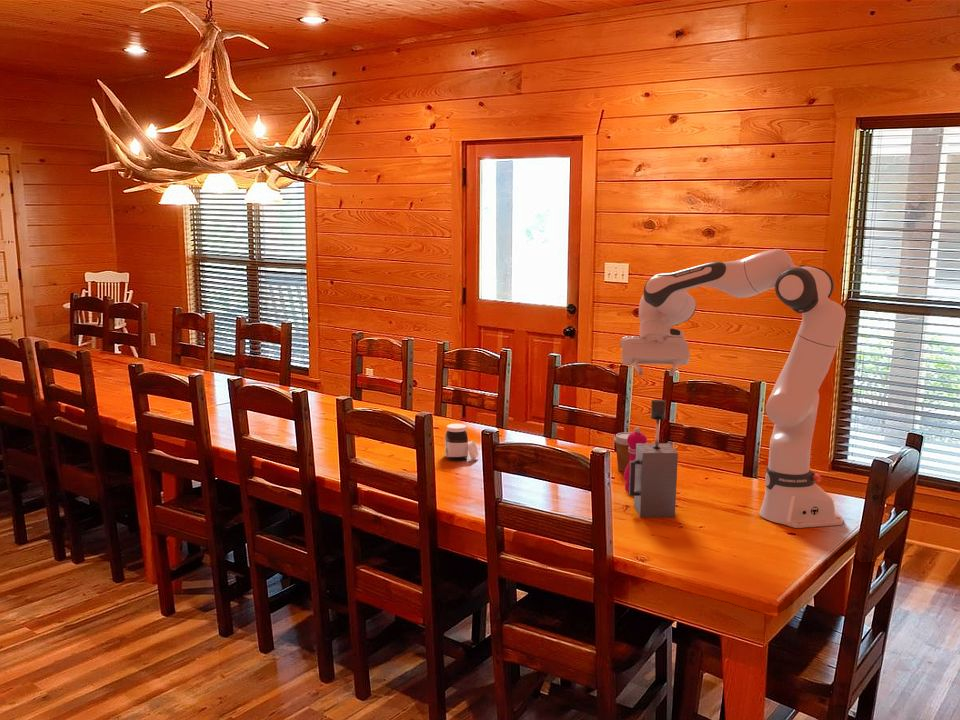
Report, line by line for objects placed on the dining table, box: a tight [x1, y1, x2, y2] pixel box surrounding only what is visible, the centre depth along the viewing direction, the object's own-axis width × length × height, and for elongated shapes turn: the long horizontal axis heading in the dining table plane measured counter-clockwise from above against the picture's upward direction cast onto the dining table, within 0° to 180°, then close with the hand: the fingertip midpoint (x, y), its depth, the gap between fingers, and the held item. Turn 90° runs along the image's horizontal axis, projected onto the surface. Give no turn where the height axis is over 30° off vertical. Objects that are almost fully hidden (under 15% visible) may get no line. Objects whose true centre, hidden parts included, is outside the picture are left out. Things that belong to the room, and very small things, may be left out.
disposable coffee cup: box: [613, 431, 632, 473], centre depth 294 cm, size 10×10×12 cm
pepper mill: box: [623, 427, 648, 492], centre depth 274 cm, size 7×7×20 cm
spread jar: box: [444, 423, 479, 462], centre depth 306 cm, size 12×11×12 cm
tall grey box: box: [628, 442, 679, 518], centre depth 254 cm, size 12×10×19 cm
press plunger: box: [650, 399, 667, 449], centre depth 251 cm, size 8×8×17 cm
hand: (656, 374), depth 259 cm, fingers open, 8 cm apart
